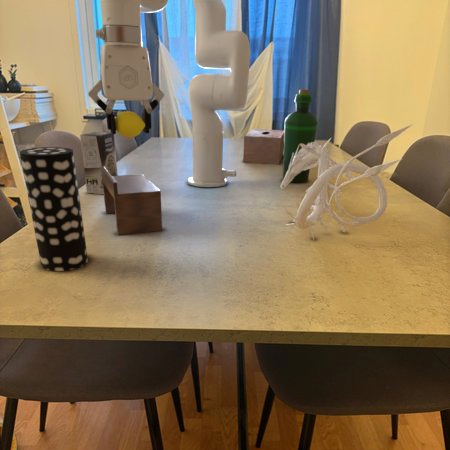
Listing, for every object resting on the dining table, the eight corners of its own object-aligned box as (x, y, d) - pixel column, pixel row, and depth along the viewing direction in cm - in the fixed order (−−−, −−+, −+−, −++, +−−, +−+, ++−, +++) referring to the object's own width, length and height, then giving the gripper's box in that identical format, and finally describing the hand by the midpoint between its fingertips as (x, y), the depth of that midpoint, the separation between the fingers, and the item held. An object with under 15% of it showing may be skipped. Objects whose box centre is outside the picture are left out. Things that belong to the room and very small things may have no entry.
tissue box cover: (251, 152, 198) (253, 128, 193) (283, 153, 195) (285, 130, 191) (243, 162, 175) (244, 136, 171) (278, 164, 173) (280, 137, 168)
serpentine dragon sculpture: (412, 272, 77) (463, 117, 70) (299, 251, 75) (340, 88, 67) (334, 233, 120) (361, 134, 112) (261, 219, 117) (283, 117, 110)
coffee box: (106, 194, 125) (100, 135, 117) (86, 193, 126) (78, 134, 118) (119, 187, 133) (114, 131, 125) (100, 186, 134) (94, 130, 126)
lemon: (111, 139, 93) (108, 111, 90) (117, 135, 98) (114, 109, 95) (143, 139, 93) (142, 112, 90) (148, 136, 98) (146, 110, 95)
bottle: (313, 179, 150) (323, 89, 137) (308, 185, 141) (319, 90, 128) (283, 176, 153) (290, 88, 140) (276, 182, 144) (283, 89, 131)
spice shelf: (144, 209, 113) (141, 164, 108) (162, 230, 98) (160, 179, 93) (105, 212, 110) (100, 166, 104) (118, 235, 95) (113, 182, 90)
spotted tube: (48, 254, 84) (28, 146, 75) (91, 253, 85) (77, 147, 76) (35, 271, 77) (12, 155, 68) (83, 270, 78) (66, 155, 68)
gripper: (79, 34, 80) (91, 136, 89) (170, 39, 86) (172, 134, 95) (75, 36, 86) (87, 131, 95) (160, 41, 92) (163, 130, 101)
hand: (129, 132), depth 95 cm, fingers closed on lemon, 6 cm apart
